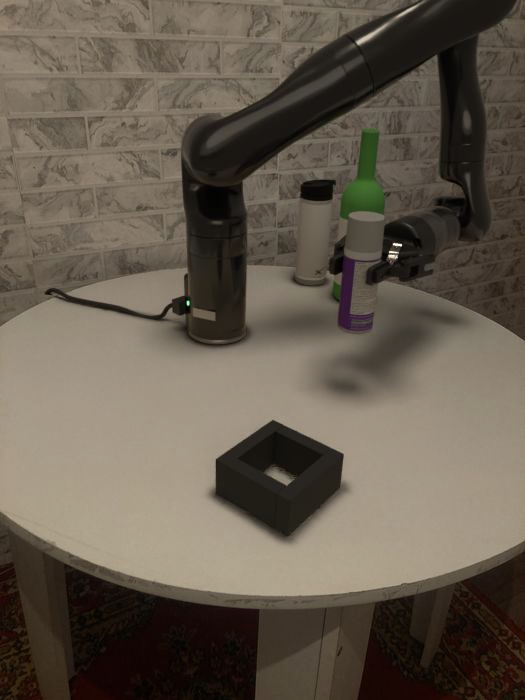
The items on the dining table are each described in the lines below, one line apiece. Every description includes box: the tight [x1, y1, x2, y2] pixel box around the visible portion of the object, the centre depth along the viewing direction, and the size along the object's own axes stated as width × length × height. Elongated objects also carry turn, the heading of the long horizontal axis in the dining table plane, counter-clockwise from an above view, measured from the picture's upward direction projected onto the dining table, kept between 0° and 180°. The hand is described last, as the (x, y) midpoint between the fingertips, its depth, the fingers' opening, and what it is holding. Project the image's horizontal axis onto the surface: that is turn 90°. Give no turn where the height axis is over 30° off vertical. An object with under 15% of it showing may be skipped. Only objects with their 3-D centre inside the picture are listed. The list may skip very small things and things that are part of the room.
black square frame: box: [215, 419, 345, 537], centre depth 63 cm, size 10×10×4 cm
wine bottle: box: [332, 128, 386, 301], centre depth 106 cm, size 8×8×30 cm
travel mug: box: [294, 178, 337, 287], centre depth 115 cm, size 6×7×20 cm
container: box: [336, 211, 386, 336], centre depth 76 cm, size 5×5×15 cm
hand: (350, 272), depth 74 cm, fingers closed on container, 4 cm apart
